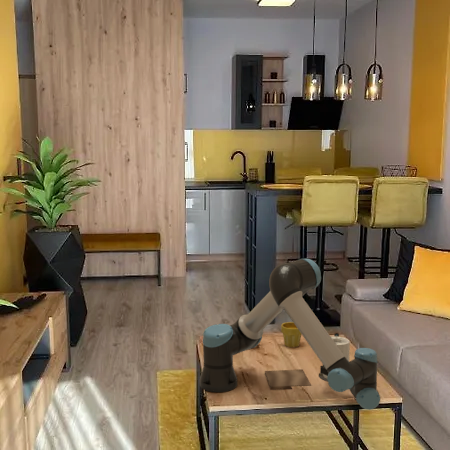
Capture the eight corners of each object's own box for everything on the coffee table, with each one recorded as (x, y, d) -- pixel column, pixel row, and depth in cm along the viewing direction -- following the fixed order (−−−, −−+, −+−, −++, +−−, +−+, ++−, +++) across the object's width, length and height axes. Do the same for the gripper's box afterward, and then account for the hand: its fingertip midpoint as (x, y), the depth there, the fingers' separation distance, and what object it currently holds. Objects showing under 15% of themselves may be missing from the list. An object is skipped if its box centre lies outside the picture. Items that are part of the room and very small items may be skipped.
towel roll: (326, 381, 233) (327, 345, 231) (320, 371, 243) (321, 337, 241) (351, 380, 234) (352, 344, 232) (344, 370, 244) (345, 336, 242)
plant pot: (307, 344, 279) (307, 324, 278) (294, 350, 271) (295, 330, 270) (289, 339, 286) (289, 320, 284) (276, 345, 278) (276, 325, 277)
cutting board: (270, 389, 229) (270, 386, 229) (264, 373, 245) (264, 370, 244) (311, 387, 230) (311, 384, 230) (302, 372, 246) (302, 369, 246)
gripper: (322, 393, 212) (309, 371, 233) (390, 390, 213) (371, 368, 234) (322, 373, 211) (310, 352, 231) (390, 371, 212) (371, 350, 233)
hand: (340, 360), depth 233 cm, fingers open, 13 cm apart
